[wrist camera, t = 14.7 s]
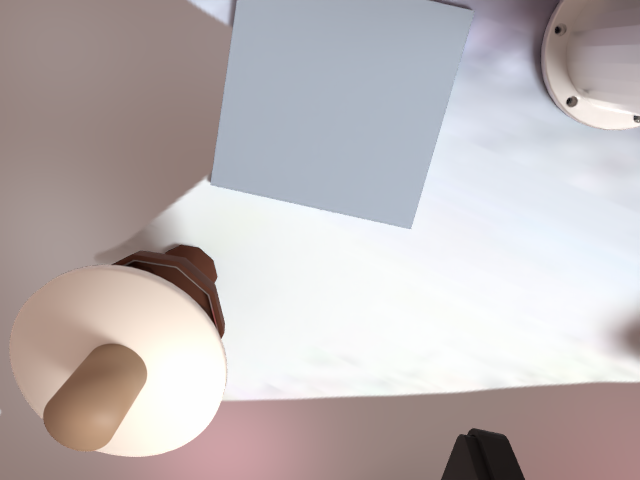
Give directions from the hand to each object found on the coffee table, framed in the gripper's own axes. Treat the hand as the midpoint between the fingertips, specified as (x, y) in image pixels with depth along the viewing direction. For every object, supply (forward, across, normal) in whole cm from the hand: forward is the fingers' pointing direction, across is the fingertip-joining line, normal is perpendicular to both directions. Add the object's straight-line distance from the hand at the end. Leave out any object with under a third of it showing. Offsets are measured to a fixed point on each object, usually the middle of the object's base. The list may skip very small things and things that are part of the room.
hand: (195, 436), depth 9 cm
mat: (+36, -1, -3) cm, 36 cm away
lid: (+21, +9, +15) cm, 28 cm away
